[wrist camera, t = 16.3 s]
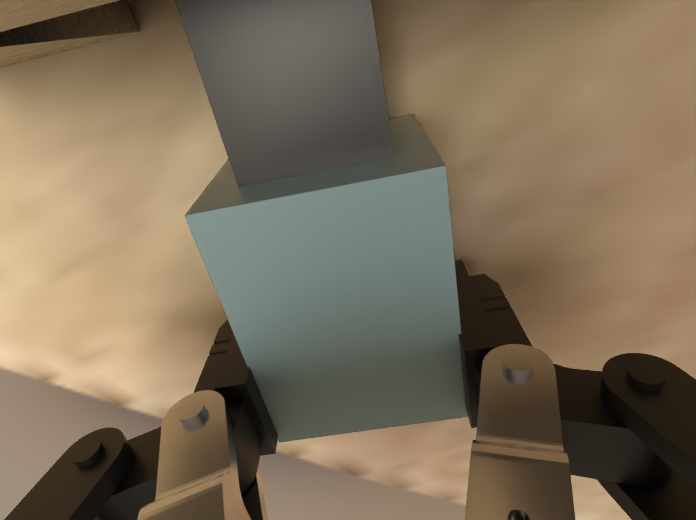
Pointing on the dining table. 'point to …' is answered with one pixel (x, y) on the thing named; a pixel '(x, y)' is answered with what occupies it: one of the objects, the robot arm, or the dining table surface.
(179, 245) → the dining table surface
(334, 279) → the plug
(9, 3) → the bridge block
